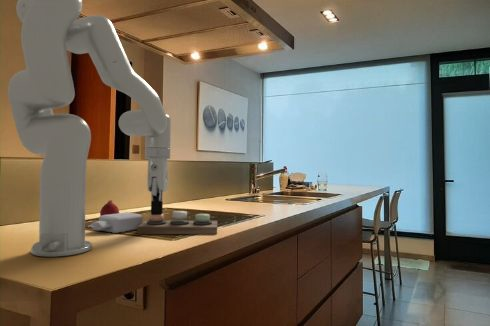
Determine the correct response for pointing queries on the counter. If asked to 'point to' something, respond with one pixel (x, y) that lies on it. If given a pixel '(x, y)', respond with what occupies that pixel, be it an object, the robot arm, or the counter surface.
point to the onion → (109, 209)
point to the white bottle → (118, 222)
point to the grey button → (179, 214)
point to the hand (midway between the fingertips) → (156, 214)
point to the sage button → (202, 217)
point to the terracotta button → (156, 217)
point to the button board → (177, 227)
